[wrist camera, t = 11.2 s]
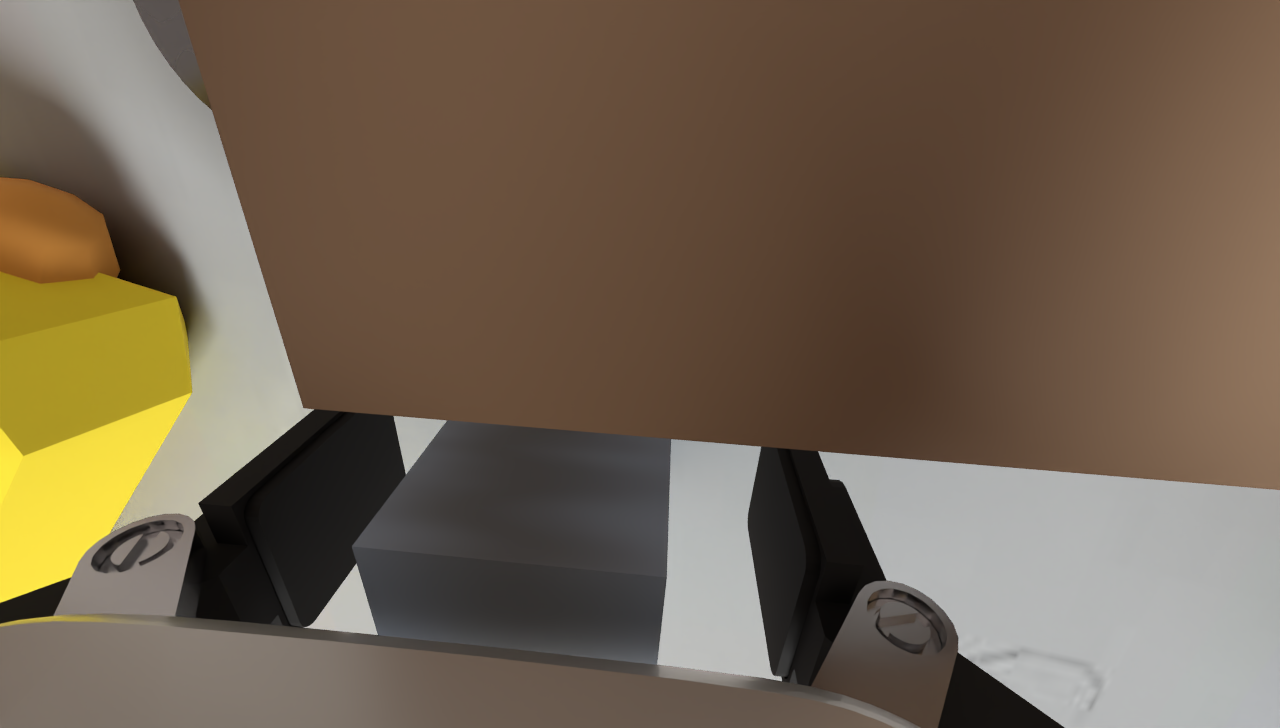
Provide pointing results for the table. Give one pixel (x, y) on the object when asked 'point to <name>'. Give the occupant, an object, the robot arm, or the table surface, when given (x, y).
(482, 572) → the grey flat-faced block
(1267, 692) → the table surface
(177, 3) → the steel token
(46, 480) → the yellow faceted part
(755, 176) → the walnut shelf
